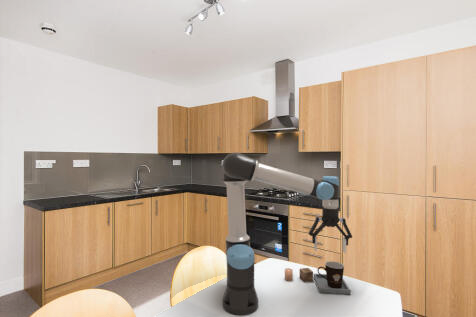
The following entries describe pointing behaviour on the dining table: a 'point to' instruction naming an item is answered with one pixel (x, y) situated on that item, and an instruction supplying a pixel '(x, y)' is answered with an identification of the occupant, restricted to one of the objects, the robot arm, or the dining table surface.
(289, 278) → the terracotta cylinder
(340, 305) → the dining table surface
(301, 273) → the walnut block
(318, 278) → the tray
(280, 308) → the dining table surface
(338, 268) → the coffee mug
